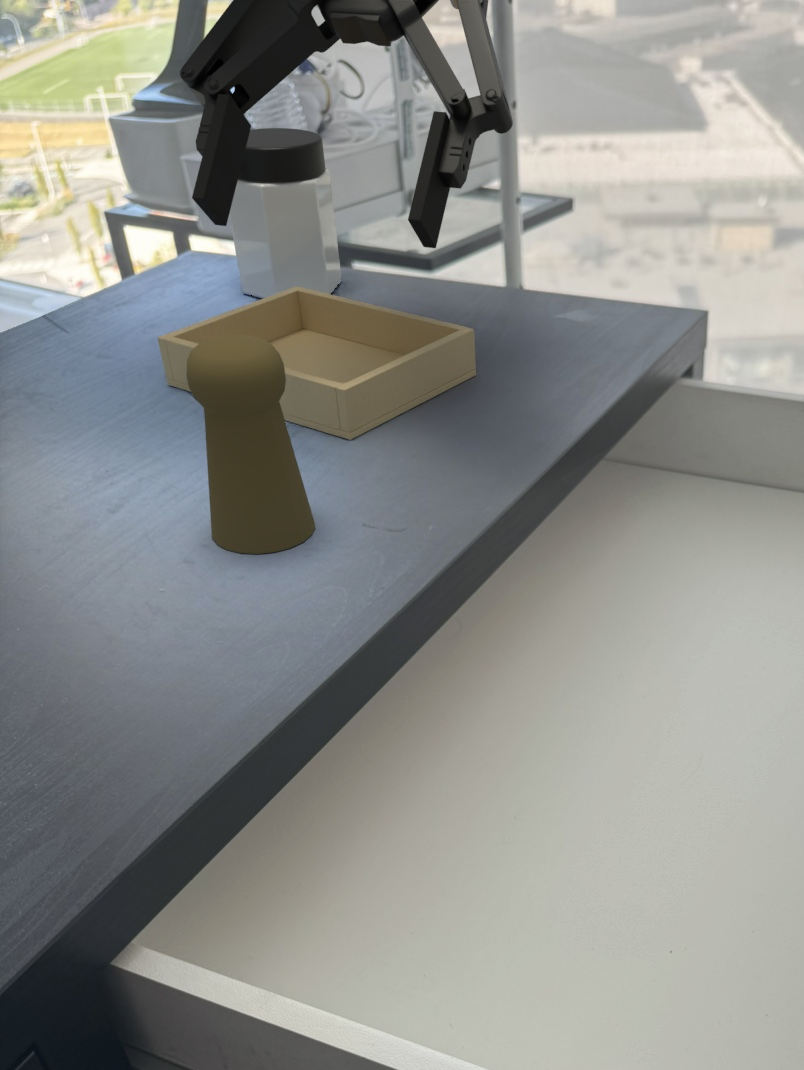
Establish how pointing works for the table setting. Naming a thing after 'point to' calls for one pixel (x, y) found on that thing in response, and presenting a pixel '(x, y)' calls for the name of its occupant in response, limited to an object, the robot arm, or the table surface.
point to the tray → (339, 357)
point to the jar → (284, 215)
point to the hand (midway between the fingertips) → (313, 223)
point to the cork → (248, 446)
